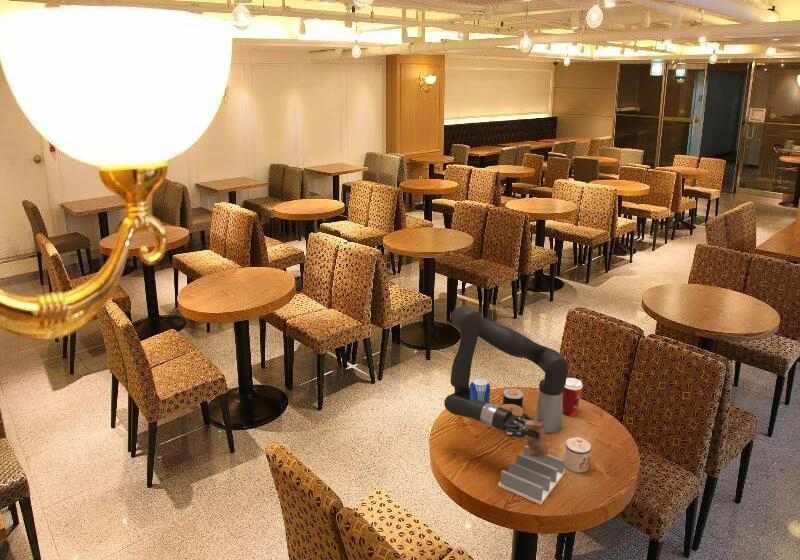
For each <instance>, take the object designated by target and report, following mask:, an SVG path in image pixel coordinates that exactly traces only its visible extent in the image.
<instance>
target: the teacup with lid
mask: <svg viewBox="0 0 800 560" xmlns="http://www.w3.org/2000/svg"><path fill="white" fill-rule="evenodd" d="M591 451H592V445H591V443H590V442H589V441H588V440H586V439H584V438H582V437H580V436H579V437H571V438H568V439H567V440H566V441H565V452H564V459H563V460H564V467H565V468H567V470H569V471H571V472H574V473H580V474H581V473H584V472H587V471H588V470H589V467H590V457H591Z"/></svg>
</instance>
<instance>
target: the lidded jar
mask: <svg viewBox="0 0 800 560" xmlns="http://www.w3.org/2000/svg"><path fill="white" fill-rule="evenodd" d="M499 407H501V408H504V409H507V410H510V411H511V412H512V414H513V415H517V416H522V414H523V413H525V410H524V408H523V407H522V408H521V407H520V406H517V405H514V404H504V405H503V404H501V405H499ZM505 432H507V430H506V431H505Z"/></svg>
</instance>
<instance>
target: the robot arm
mask: <svg viewBox="0 0 800 560" xmlns="http://www.w3.org/2000/svg"><path fill="white" fill-rule="evenodd" d="M450 317H451V323H452V324H453V326H454V327H455V328H456V329H457V330H458V331H459V332H460V333H459V335H460V340H459V345H458V349H457V352H456V354H455V356H454V359H453V361H452V366H451V372H450V379H449V380H450V385H451V386H452V387H453V388H454V391H453V392H454V393H451V394H449V395H447V396H446V397H445V399H444V401H443V405H444V407H445V410H446V411H447V412H449V413H451V414H453V415H455V416H460V417H463V418H464V417H465V418H471V419H473V420H476V421H478V422H481V423H484V424H485V425H487V426H489V427H491V428H495V429H498V430H500V431H501V432H502V431H503V432H506V436H507V437H511V438H518V439H519V438H520V439H524V438H525V437H527V436H530V437H533V438H536V439H538V438H539V433H538V432H535V431H533V430H530V429H528V428H525V423H526V422H527V421H528V420H532V421H538V422H544V429H545V434H554V433H557V432H558V431H559V430H560V429H562V423H563V407H562V397H563V388H564V387H565V384H566V379H567V378H568V373H569V371H568V370H569V364H568V362H567V360H566V359H565V358H564V357H563V356H562V354H561V353H559V352H558V351H557V350H555V349H553V348H550V347H547V346H544V345H543V344H539V343H537V342H535V341H533V340H532V339H530V338H529V337H527V336H525V335H524V334H522V333H520V332H518V331H517V330H514V329H513V328H511V327H508V326H505V325H503V324H501V323H498V322H495V321H492V320H490V319H487V318H486V317H484V316H482V315H481V313H480V312H479V311H477V310H475V309H474V308H472V307H470V306H465V305H462V306H459V307H456V308H455V309H453V311H452V312H451V316H450ZM478 338H480V339H482V340H483V341H486V342H487V344H490V345H491V346H492V347H494V348H495V349H497V350H499V351H501V352H503V353H505V354H507V355H509V356H512V357H514V358H522V359H523V358H524V359H526V360H527V361H531V362H532V363H533V364H535V365H537V366H538V367H539V368H540V369H541V370H542V371H543V373H544V379H541V380H540V382H539V384H538V394H537V395H538V397H537V407H536V417H535V419H534V418H533V417H531V416H529V415H528V414H526V413H525V412H524V413H523V414H522V416H517V415H513V414H512V412H511V411H510V410H507V409H504V408H501V407H500V405H499V406H498V405H496V404H492V403H489V404H488V403H486V402H483V401H480V400H470V379H471V371H472V365H473V364H472V363H473V360H474V358H473V357H474V354H475V350H476V346H477V342H478ZM506 430H507V431H506Z"/></svg>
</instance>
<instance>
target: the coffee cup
mask: <svg viewBox="0 0 800 560" xmlns="http://www.w3.org/2000/svg"><path fill="white" fill-rule="evenodd" d="M582 389H583V382H582V381H581V380H580V379H577V378H574V377H567V379H566V384H565V387H564V388H563V394H562V404H561V407H563V414H562V416H563V415H564V416H565V415H566V416H565V417H567V416H569V417H568V418H574V417H577V415H576V414H578V408H579V404H580V398H581V393H582ZM573 416H574V417H573Z"/></svg>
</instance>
